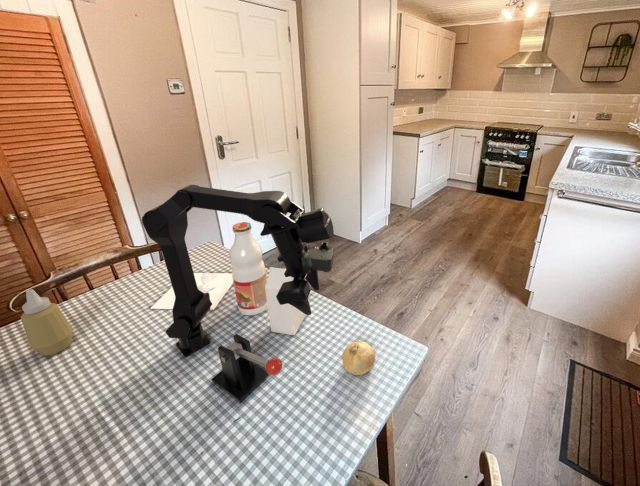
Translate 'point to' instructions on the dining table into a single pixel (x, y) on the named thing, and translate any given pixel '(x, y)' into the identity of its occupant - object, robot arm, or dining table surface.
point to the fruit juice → (248, 271)
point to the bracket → (238, 372)
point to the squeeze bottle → (45, 325)
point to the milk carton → (281, 315)
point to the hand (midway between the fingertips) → (313, 301)
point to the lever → (256, 359)
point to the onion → (358, 358)
